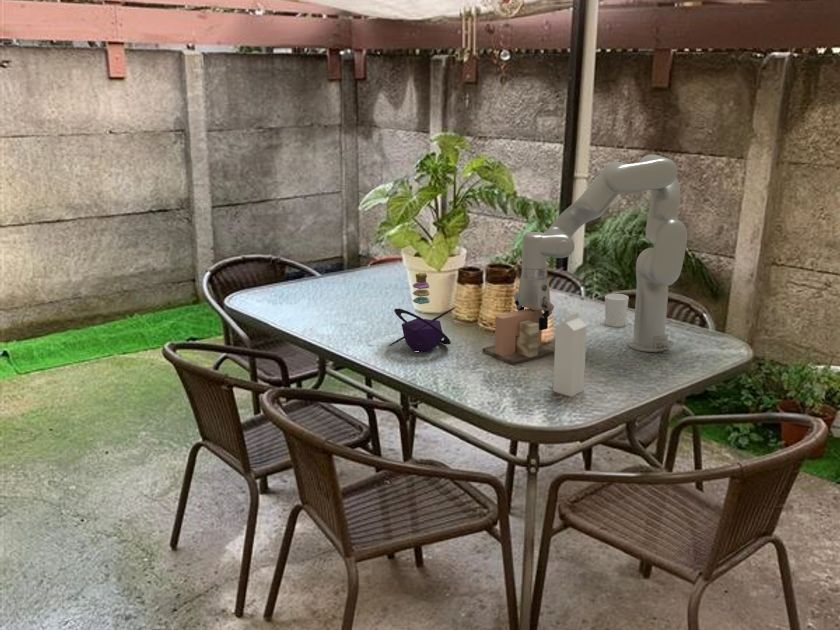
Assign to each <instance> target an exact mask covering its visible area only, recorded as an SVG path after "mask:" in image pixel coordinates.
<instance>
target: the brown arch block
mask: <svg viewBox="0 0 840 630" xmlns="http://www.w3.org/2000/svg"><path fill="white" fill-rule="evenodd" d="M506 313H507V314H503V313H502V314H503V315H495V320H494V321H495V322H494V329H495V330H494V333H495V334H494V345H495V354H498V355H500V356H505V355H509V354H513V353H515V343H516V336H518V335H519V334H520V322H523V321H528V320H529V321H532V322H535V323H537V324H539V318H540V315H539V313H538V311H536V310H533V309H530V308H525V310H520V311H518V310H516V311H513V312H506ZM542 331H543V330H539V340H538V347H540V346H541V347H542Z"/></svg>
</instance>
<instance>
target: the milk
mask: <svg viewBox="0 0 840 630" xmlns="http://www.w3.org/2000/svg"><path fill="white" fill-rule="evenodd" d="M587 329H588V326H587V324H585V322H583V321H582V319H580V317H579V312H575V313H572V314H569V315H567V316H565V318H564V322H563V323H560V324H558V325H555V336H554V338H555V339H554V361H553V363H554V364H553V365H554V366H553V389H552V390H553V392H554V393H557V394H561V395H564V396H567V397H570V398H571V397H574V396H576V395H577V394H580V393H583V391H584V389H585V388H584V387H585V370H586V368H585V367H586V353H587V352H586V351H587V350H586V349H587V347H586V346H587V332H588V331H587Z"/></svg>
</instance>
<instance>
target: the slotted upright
mask: <svg viewBox="0 0 840 630" xmlns="http://www.w3.org/2000/svg"><path fill="white" fill-rule="evenodd" d="M507 313H508V312H504V313H499V314H498V315H503V314H507ZM498 315H497V316H498ZM538 340H539V324H537V323H535V322H532V321H529V320H528V321H523V322H520V334H519V335H518V336H516V343H515V353H513V354H509V355H505V356H500V355H498V354H495V344H493V345H491V346H486V347H483V348H481V349H482V350H481V351H483V352H485V353H484V354H486V353H487V354H486V355H488V354H489V356H490V355H491V357H493V358H496V359H497V358H498V360H499V361H502V362H504V363H507V364H509V365H512V366H516V365H521V364H524V363H527V362H532V361H535V360H536V361H537V360H538V359H542V358H546V357H550V356H553V355H554V350H552V349H549V348H546V347H544V346H542V345H541V346H540V347H538ZM483 352H482V353H483Z"/></svg>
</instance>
